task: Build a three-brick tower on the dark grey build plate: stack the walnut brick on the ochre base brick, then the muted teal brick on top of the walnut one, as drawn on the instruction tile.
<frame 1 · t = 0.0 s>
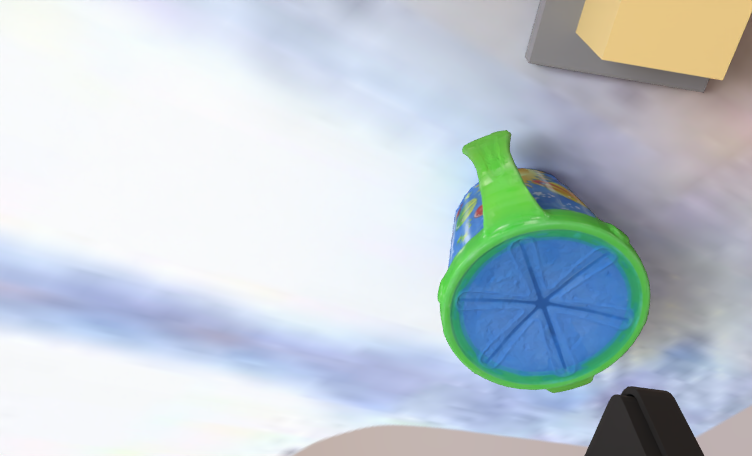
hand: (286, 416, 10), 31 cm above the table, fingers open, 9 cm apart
snack cup: (512, 215, 44), on the table
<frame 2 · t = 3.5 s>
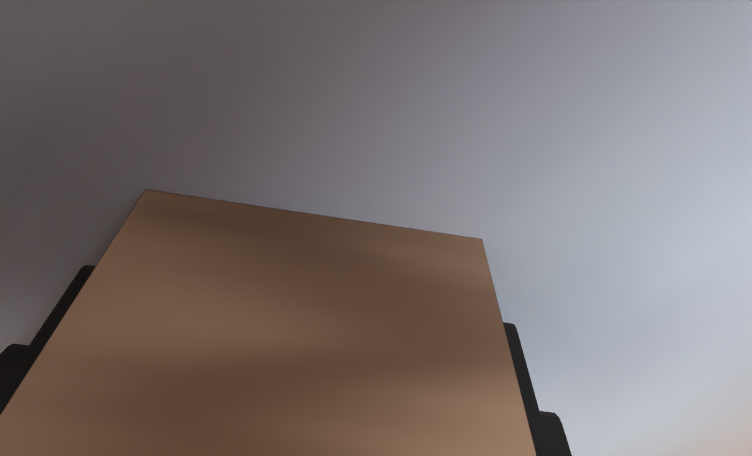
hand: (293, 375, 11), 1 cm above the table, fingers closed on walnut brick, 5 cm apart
walnut brick: (298, 345, 12), on the table, touching gripper
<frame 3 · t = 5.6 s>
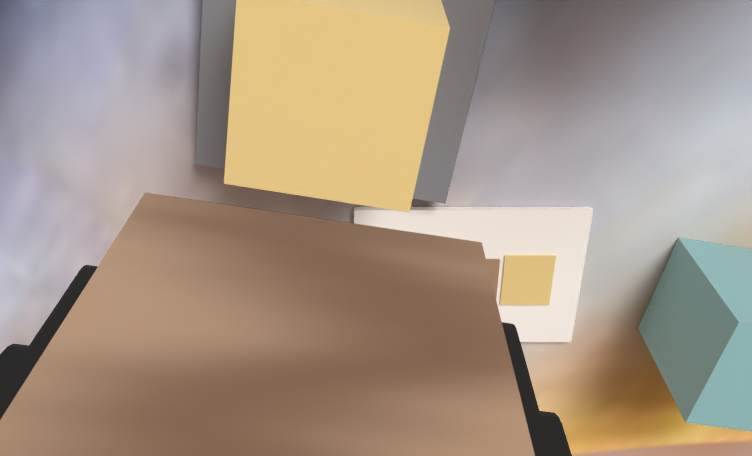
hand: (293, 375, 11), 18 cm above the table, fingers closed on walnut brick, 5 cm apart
teal brick: (709, 292, 32), on the table
instruction tile: (467, 276, 31), on the table
walnut brick: (297, 348, 12), point 17 cm above the table, touching gripper
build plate: (341, 52, 26), on the table
when the fingers open (8 cm above the table, at t = 7.7 s): walnut brick drops 1 cm, resting on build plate.
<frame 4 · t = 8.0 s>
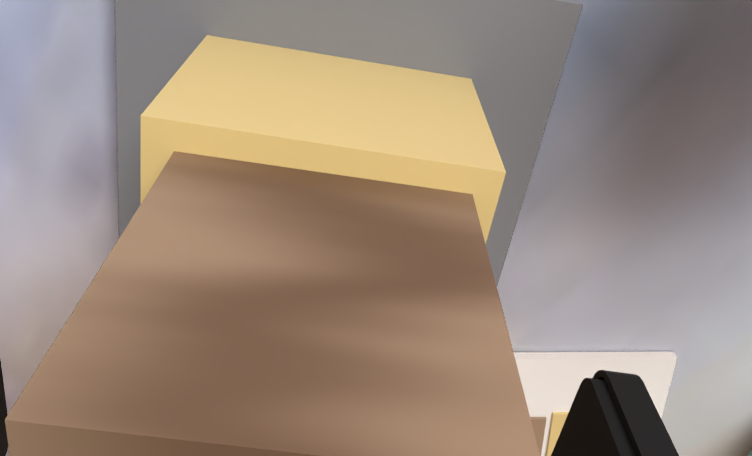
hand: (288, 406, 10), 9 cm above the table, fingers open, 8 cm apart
instruction tile: (501, 434, 23), on the table
walnut brick: (309, 294, 13), point 6 cm above the table, touching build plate
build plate: (327, 156, 18), on the table
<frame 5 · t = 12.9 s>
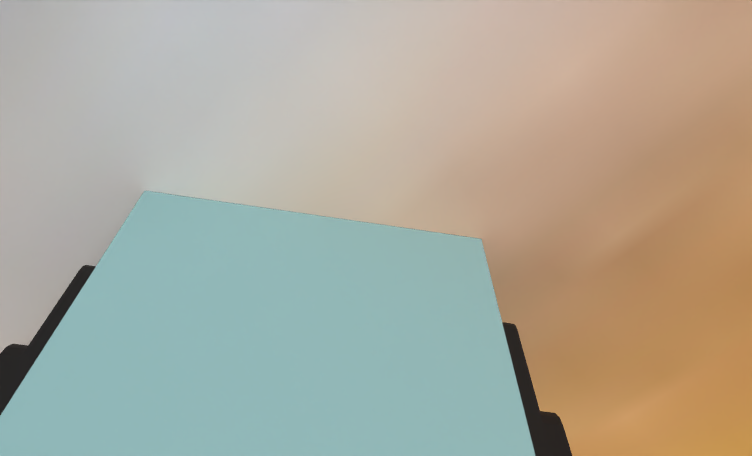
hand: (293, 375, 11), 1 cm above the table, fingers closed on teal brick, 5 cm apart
teal brick: (298, 346, 12), on the table, touching gripper
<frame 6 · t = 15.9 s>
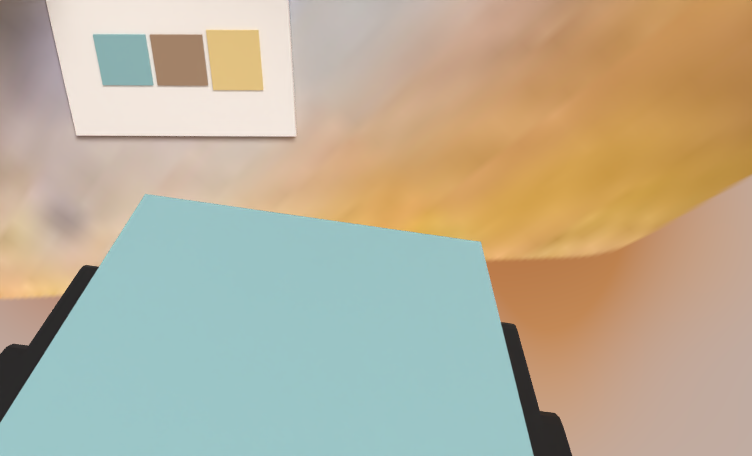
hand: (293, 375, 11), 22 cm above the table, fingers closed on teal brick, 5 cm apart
teal brick: (298, 348, 12), point 21 cm above the table, touching gripper
instruction tile: (177, 58, 30), on the table
when the fingers open (14 cm above the table, at t = 18.7 s): teal brick drops 1 cm, resting on walnut brick.
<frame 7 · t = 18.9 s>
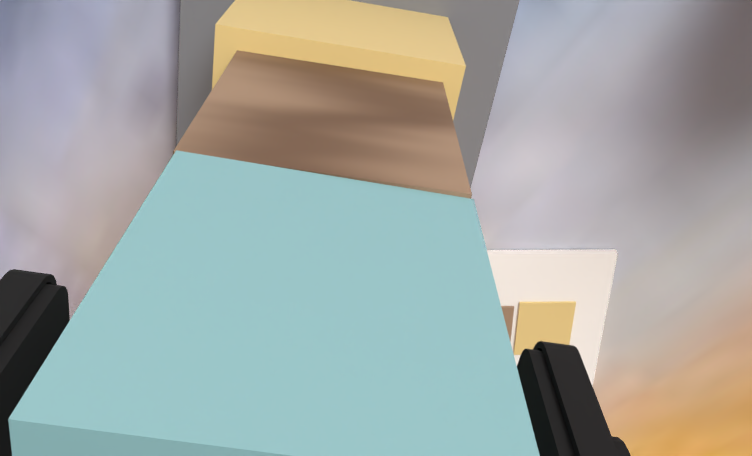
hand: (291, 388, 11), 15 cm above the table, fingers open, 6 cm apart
teal brick: (308, 296, 13), point 12 cm above the table, touching walnut brick
instruction tile: (478, 323, 28), on the table
walnut brick: (328, 160, 18), point 6 cm above the table, touching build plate, teal brick
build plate: (337, 83, 23), on the table
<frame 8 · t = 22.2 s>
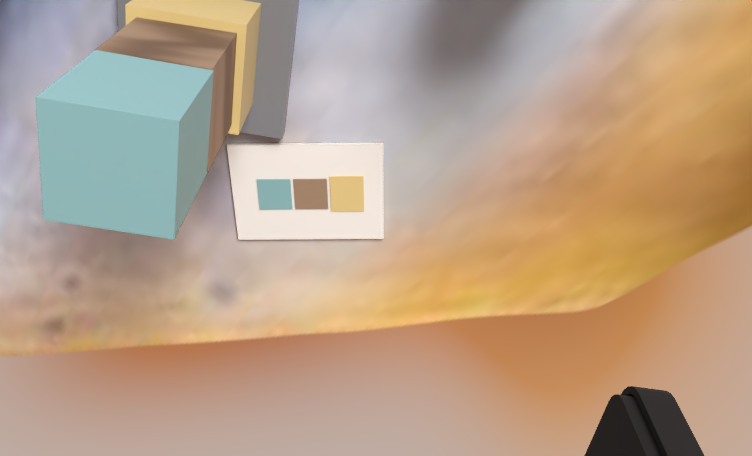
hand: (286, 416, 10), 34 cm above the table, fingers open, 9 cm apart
teal brick: (153, 114, 31), point 12 cm above the table, touching walnut brick
instruction tile: (308, 191, 47), on the table
walnut brick: (185, 73, 36), point 6 cm above the table, touching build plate, teal brick
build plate: (209, 41, 42), on the table
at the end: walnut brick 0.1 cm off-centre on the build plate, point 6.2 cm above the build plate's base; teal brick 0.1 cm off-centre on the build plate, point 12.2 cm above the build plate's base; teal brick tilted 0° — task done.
